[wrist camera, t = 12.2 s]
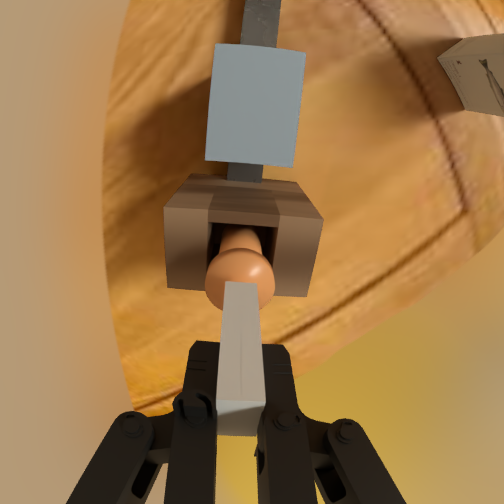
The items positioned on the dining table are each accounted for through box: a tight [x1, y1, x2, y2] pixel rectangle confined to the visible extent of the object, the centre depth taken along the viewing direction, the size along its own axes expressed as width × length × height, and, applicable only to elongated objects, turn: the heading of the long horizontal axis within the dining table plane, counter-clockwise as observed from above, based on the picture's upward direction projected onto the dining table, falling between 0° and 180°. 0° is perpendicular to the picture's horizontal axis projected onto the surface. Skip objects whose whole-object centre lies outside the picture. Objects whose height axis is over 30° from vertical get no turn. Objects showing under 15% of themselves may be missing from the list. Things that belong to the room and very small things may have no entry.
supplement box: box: [437, 34, 504, 117], centre depth 14 cm, size 7×7×13 cm
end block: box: [164, 174, 324, 297], centre depth 23 cm, size 6×10×10 cm, turn 85°
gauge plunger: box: [205, 223, 275, 311], centre depth 18 cm, size 4×4×6 cm
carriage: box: [205, 44, 306, 168], centre depth 18 cm, size 7×5×10 cm
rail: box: [227, 0, 281, 183], centre depth 17 cm, size 30×5×4 cm, turn 174°
